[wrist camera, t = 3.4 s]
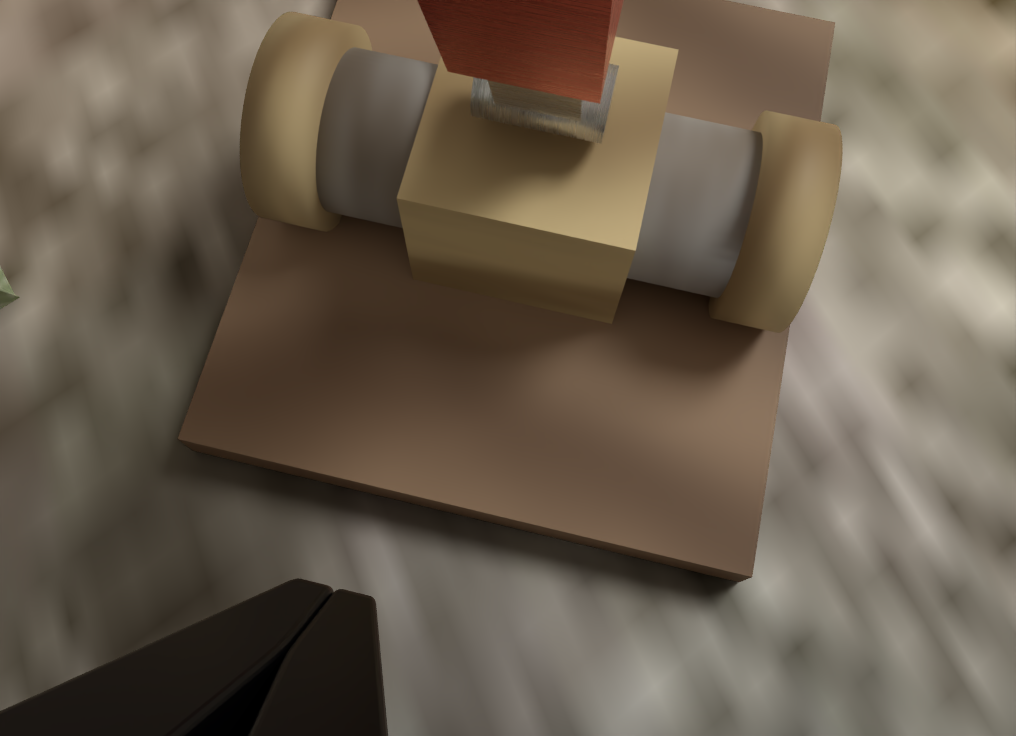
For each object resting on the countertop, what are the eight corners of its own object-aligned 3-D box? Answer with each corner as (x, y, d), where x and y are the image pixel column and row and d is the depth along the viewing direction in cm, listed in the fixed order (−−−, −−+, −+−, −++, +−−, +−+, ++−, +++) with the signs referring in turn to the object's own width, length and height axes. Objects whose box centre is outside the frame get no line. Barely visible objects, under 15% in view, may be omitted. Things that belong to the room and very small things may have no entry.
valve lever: (597, 164, 20) (622, -17, 10) (472, 138, 20) (381, -65, 10) (620, 65, 20) (667, -213, 10) (494, 38, 20) (423, -259, 10)
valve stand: (739, 582, 23) (815, 550, 17) (192, 450, 23) (102, 381, 18) (820, 49, 28) (900, -104, 22) (369, -43, 28) (339, -212, 23)
